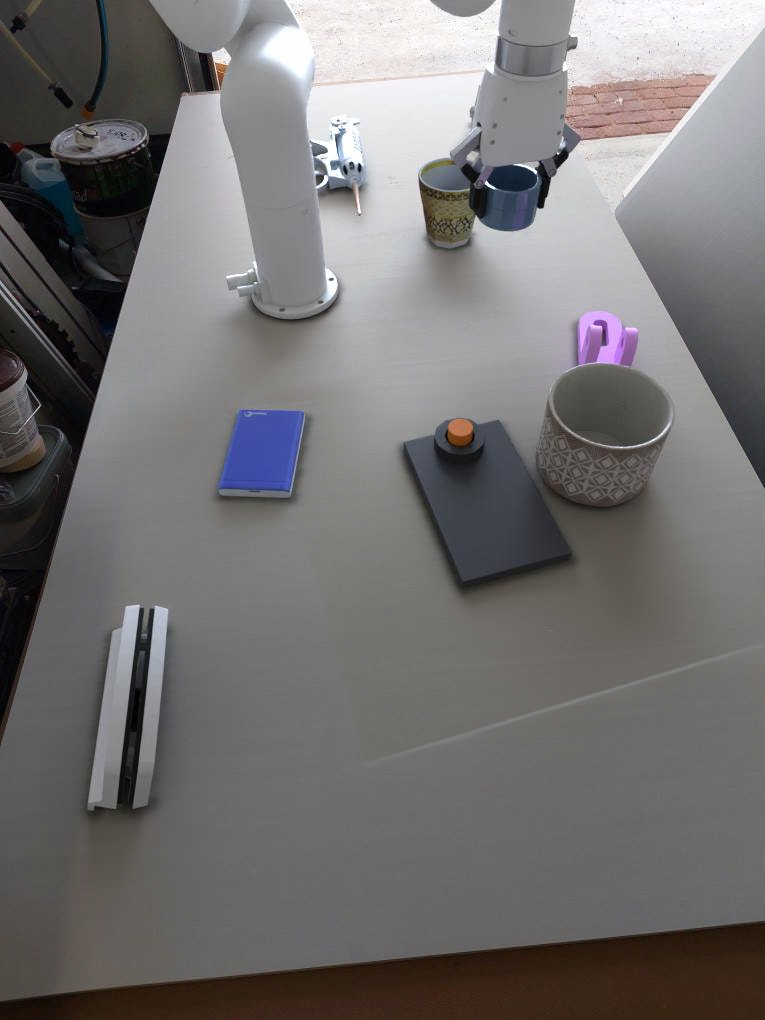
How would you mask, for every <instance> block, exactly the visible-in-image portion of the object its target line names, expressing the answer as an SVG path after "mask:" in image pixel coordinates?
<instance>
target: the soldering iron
mask: <svg viewBox="0 0 765 1020" xmlns="http://www.w3.org/2000/svg"><path fill="white" fill-rule="evenodd" d="M360 124H361V121H360V119H358V118H355V117H353V118H348V121H347V118H346V115H340V116H335V117H331V124H330V126H329V137H330V139H331V140H330V141H329V142H326V141H320V140H316V139H310V144H311V150H312V155H313V162H314V169H315V177H317V176H321V177H323V181H322V182H321V183H320V184H319V185H316V186H317V193H320V192H322V191H324V190H325V189H326V188H327V187H329V190H334V189H336V188H342V187H343V188H344V187H346V188H349V189H350V190H352V194H353V199H354V204H355V209H356V213H357V216H358V217H361V215H362V210H361V200H360V191H359V189H360V188H361V186H362V185H363V184H364V183H365V181H366V178H367V177H366V176H367V168H366V167H367V166H366V164H365V158H364V153H363V148H362V142H361V136H360V132H359V129H358V128H356V126H357V125H360Z"/></svg>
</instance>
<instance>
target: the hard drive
mask: <svg viewBox="0 0 765 1020" xmlns="http://www.w3.org/2000/svg"><path fill="white" fill-rule="evenodd" d="M305 421H306V414H305V411H303V410H293V409H289V410H288V409H255V408H254V409H251V408H250V409H249V408H243V409H242V408H241V409H238V412H237V415H236V419H235V423H234V427H233V429H232V434H231V438H230V442H229V446H228V449H227V454H226V457H225V460H224V464H223V468H222V472H221V475H220V480H219V483H218V488H217V490H218V493H219V495H220V496H224V497H247V498H248V497H250V498H251V497H252V498H253V497H254V498H279V499H281V498H282V499H288V498H291V496H292V492H293V486H294V481H295V477H296V471H297V465H298V459H299V454H300V450H301V449H300V448H301V443H302V438H303V432H304V426H305Z"/></svg>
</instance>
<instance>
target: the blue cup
mask: <svg viewBox="0 0 765 1020" xmlns="http://www.w3.org/2000/svg"><path fill="white" fill-rule="evenodd" d="M541 184H542V179H541V176H540V174H539V173H538V172H537V171H536V170H535V168H532V167H530V166H528V165H524V164H522V163H521V164H514V165H508V166H501V167H495V168H494V170H493V171H492V173H491V174H490V176H489V178H488V179H487V181H486V182H485V186H486V187H487V189H488V192H487V200H486V208H485V216H484V217H483V218H482V219H478V221H479V222H480V223H481V224H482V225H484V226H485V227H487V228H489V229H492V230H495V231H499V232H508V233H509V232H519V231H522V230H525V229H527V228H529V227H530V226H531V225H532V224H533V223H534V221H535V218H536V215H537V210H538V208H537V205H538V200H539V195H540V189H541Z"/></svg>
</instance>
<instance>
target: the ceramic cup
mask: <svg viewBox="0 0 765 1020" xmlns="http://www.w3.org/2000/svg"><path fill="white" fill-rule="evenodd" d="M466 160H467V161H468V163H469V164H470V165H471V166H472V164H473V162H474V161H475V160H472V159H468V156H467V157H466ZM417 173H418V174H417V177H418V187H419V188H418V189H419V194H420V201H421V205H422V211H423V218H424V223H425V231H426V236H427V238H428V240H430V242H431V243H432V244H433V245H434V246H435V247H438V248H443V249H444V248H445V249H451V250H452V249H454V248H457V247H461V246H465V245H466V244H467V243H468V241H469V239H470V237H471V234H472V231H473V228H474V224H475V220H476V218H477V216H476V215H475V213H474V212H473V210H471V209H470V207H469V203H468V202H469V191H470V181H469V180H468V179H467V178H466V177H465V176H464V175H463V173H462V172H461V170H460V169H459V168H458V166H457V165H456V163H455V162H454V161H453V159H452V158H451V156H449V157H441V158H436V159H433V160H431V161H427V162H426V163H425V164H424V165H423V166H421V167H420V169H419V171H418V172H417Z"/></svg>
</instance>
